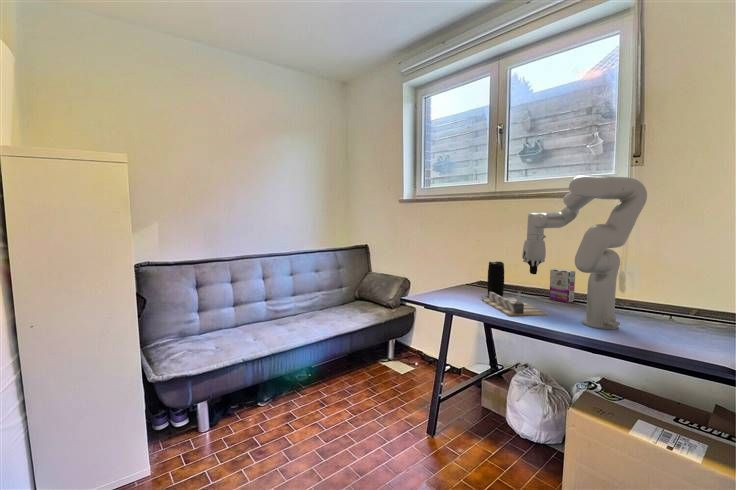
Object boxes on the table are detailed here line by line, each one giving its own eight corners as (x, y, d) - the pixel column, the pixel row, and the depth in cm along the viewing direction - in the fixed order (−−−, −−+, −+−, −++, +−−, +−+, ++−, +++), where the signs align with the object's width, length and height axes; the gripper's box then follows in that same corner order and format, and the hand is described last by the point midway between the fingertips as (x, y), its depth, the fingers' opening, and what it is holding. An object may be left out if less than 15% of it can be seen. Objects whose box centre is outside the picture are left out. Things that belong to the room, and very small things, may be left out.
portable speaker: (497, 294, 197) (498, 260, 195) (507, 298, 187) (508, 263, 186) (483, 295, 195) (484, 261, 193) (492, 299, 186) (493, 263, 184)
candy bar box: (574, 302, 179) (576, 271, 177) (568, 303, 177) (569, 271, 175) (555, 297, 189) (556, 268, 187) (548, 298, 187) (550, 268, 185)
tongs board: (547, 315, 155) (547, 303, 155) (509, 316, 154) (509, 304, 153) (513, 299, 185) (514, 289, 184) (481, 300, 183) (481, 290, 183)
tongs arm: (519, 311, 157) (519, 303, 156) (515, 310, 158) (515, 303, 157) (520, 299, 180) (521, 292, 179) (517, 298, 180) (517, 292, 180)
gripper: (544, 237, 175) (542, 272, 177) (516, 237, 174) (515, 272, 176) (554, 238, 168) (551, 275, 170) (524, 238, 167) (523, 275, 169)
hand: (533, 273), depth 173 cm, fingers closed
